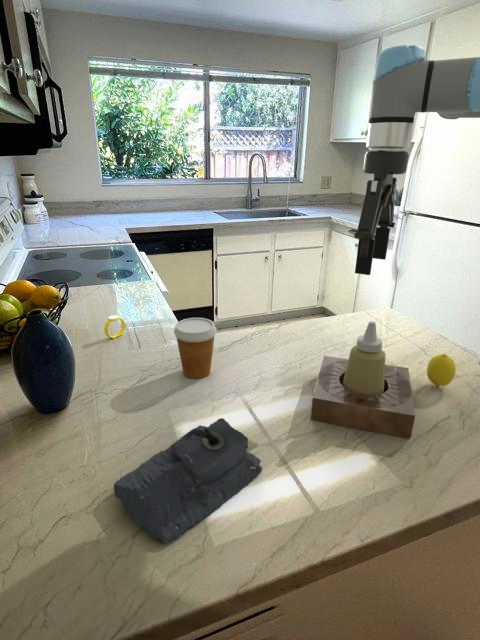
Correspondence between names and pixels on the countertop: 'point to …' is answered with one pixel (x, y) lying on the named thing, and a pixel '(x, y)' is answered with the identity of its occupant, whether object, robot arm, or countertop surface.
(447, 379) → the lemon
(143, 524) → the iron doorstop weight
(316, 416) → the holder
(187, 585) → the countertop surface
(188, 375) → the disposable coffee cup
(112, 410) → the countertop surface
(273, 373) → the countertop surface
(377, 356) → the squeeze bottle
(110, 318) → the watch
